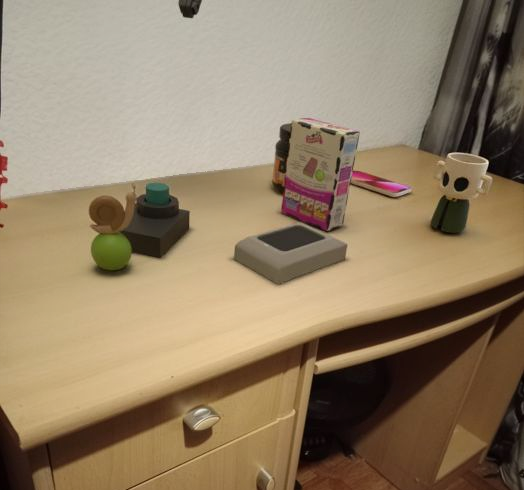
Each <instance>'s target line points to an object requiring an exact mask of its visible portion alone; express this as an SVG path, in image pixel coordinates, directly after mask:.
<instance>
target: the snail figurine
mask: <svg viewBox="0 0 524 490" xmlns="http://www.w3.org/2000/svg"><path fill="white" fill-rule="evenodd" d="M131 187H132V189H133V191H129V192H127V193H126V195H125V199H126V204H125V208H124V206H123V204H122V202H120V201H119V200H118V199H117V198H115V197H114V196H111V195H100V196H97V197H95V198H93V200H92V201H91V203H90V204H89V207H88V215H89V218H90V219H91V221H92V222H93V223H95V224H90V225H89V227H90V229H92V230H93V231H94V232H96V233H98V234H97V235H96V236H95V237H94V238H93V239H92V242H91V245H90V255H91V257H92V259H93V261H94V263H95V264H96V265H98V266H99V267H100V268H102V269H104V270H107V271H117V270H121V269H123V268H124V267H125V266H127V265H128V263H129V262H130V261H131V258H132V253H133V252H132V248H131V245H130V242H129V240H128V239H127V238H126V237H125V236H124V235H123V234H121V233H119V232H120V231H122V230H124V229H126V228H127V227H128V226H129V224H130V222H131V220H132V217H133V212H134V207H135V203H136V198H137V197H138V196H137V194H136V189H137V184H136V183H135V182H132V183H131ZM124 211H125V212H124Z"/></svg>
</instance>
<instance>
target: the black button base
mask: <svg viewBox="0 0 524 490" xmlns="http://www.w3.org/2000/svg"><path fill="white" fill-rule="evenodd" d="M124 212H125V210H124ZM190 213H191V212H190V210H187V209H181V208H180V201H179V199H178V197H176V196H174V195H172V194H169V203H168V204H164V205H154V204H149V203H147V202H146V193H143V194H139V195H138V196H137V197H136V202H135V207H134V212H133V217H132V220H131V222H130V224H129V226H128V227H127V228H126V229H124V230H122V231H120V232H119V233H121V234H123V235H124V236H125V237H126V238H127V239H128V240H129V242H130V245H131V248H132V253H136V254H140V255H144V256H145V255H146V256H150V257H155V258H159V259H160V258H162V257H163V256H164V255H165V254H166V253H167V252H168V251H169V250H170V249H171V248H172V247H173V246H175V244H176V243H177V242H178V241H179V240H180V239H181V238H182V237H183V236H184V235H185V234H186V233H187V232H188V231H189V230H190V215H191V214H190Z"/></svg>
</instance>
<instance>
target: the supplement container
mask: <svg viewBox="0 0 524 490" xmlns="http://www.w3.org/2000/svg"><path fill="white" fill-rule="evenodd" d="M291 123H292V122H291ZM291 123H290V122H289V123H284V124H282V125H280V126H279V131H278V132H279V133H278V138H279V139H278V140H277V141H276V143H275V145H274V150H275V151H274V161H273V162H274V163H273V171H272V179H271V186H272V188H273V189H274V190H275V191H277V192H278V193H280V194H282V195H283V192H284V183H285V175H286V166H287V157H288V149H289V140H290V131H291Z"/></svg>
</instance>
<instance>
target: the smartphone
mask: <svg viewBox="0 0 524 490" xmlns="http://www.w3.org/2000/svg"><path fill="white" fill-rule="evenodd" d="M350 184H353V185H355V186H359V187H362V188H365V189H367V190H371V191H374V192H377V193H379V194H383V195H386V196H389V197H392V198H398V197H400V196H404V195H406V194H408V193H411V192H412V187H411V186H409V185H406V184H402V183H400V182H396V181H394V180H390V179H387V178H383V177H380V176H376V175H373V174H371V173H367V172H365V171H360V170H353V172H352V177H351V183H350Z"/></svg>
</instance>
